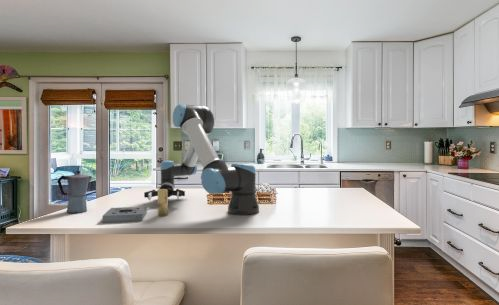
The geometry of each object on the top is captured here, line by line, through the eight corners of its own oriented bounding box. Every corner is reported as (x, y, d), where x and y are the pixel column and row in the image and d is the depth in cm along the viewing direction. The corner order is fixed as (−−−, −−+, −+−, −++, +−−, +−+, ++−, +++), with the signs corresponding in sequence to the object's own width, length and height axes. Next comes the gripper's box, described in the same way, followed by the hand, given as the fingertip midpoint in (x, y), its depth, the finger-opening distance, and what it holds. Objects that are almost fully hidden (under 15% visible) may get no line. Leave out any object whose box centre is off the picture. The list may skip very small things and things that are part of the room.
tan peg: (168, 213, 150) (167, 188, 150) (167, 216, 146) (167, 190, 146) (158, 214, 150) (158, 188, 149) (157, 216, 145) (157, 190, 145)
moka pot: (96, 210, 158) (95, 170, 157) (62, 216, 146) (60, 172, 146) (89, 207, 164) (88, 169, 163) (55, 212, 153) (54, 171, 152)
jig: (146, 212, 153) (146, 206, 153) (142, 220, 137) (142, 214, 137) (111, 214, 150) (111, 207, 150) (102, 222, 134) (102, 215, 134)
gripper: (189, 196, 180) (189, 203, 159) (143, 197, 175) (137, 205, 154) (189, 182, 180) (189, 188, 159) (142, 184, 175) (136, 190, 154)
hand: (163, 196), depth 156 cm, fingers open, 13 cm apart
